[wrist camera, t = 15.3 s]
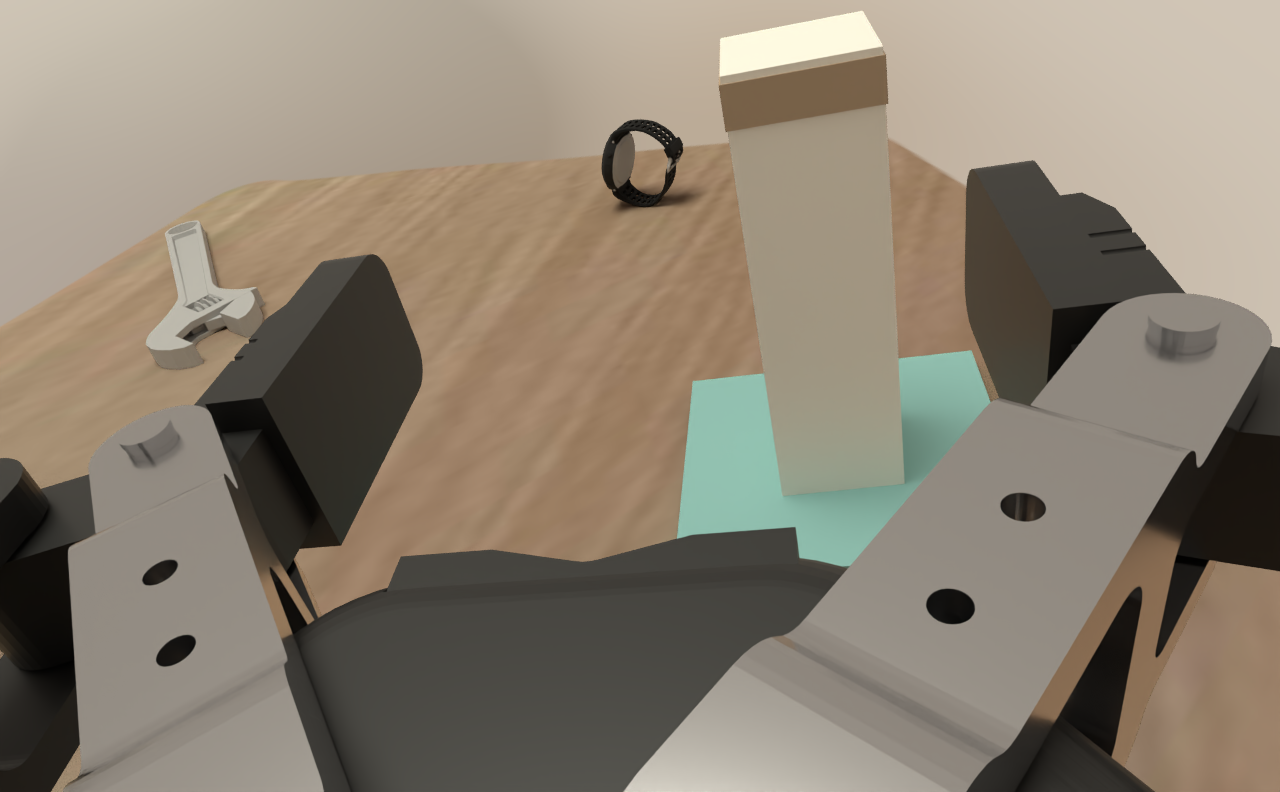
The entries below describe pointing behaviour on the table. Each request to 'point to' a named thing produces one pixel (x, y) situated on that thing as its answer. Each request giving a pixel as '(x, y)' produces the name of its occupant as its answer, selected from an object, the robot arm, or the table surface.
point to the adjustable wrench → (199, 302)
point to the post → (819, 245)
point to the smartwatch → (622, 159)
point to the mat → (825, 521)
